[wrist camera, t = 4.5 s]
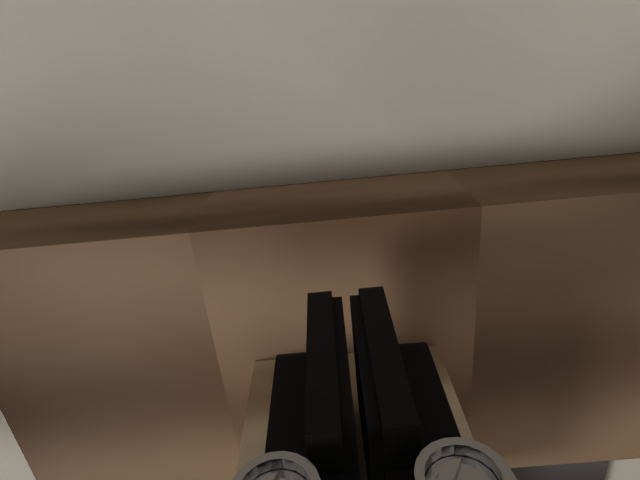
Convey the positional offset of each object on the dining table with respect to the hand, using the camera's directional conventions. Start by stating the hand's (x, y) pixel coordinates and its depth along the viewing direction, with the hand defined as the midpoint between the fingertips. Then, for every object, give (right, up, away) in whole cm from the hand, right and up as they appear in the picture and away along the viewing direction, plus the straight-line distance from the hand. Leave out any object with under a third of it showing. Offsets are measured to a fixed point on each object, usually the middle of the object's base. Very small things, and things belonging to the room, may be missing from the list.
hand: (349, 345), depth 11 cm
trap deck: (+1, -7, +8) cm, 11 cm away
